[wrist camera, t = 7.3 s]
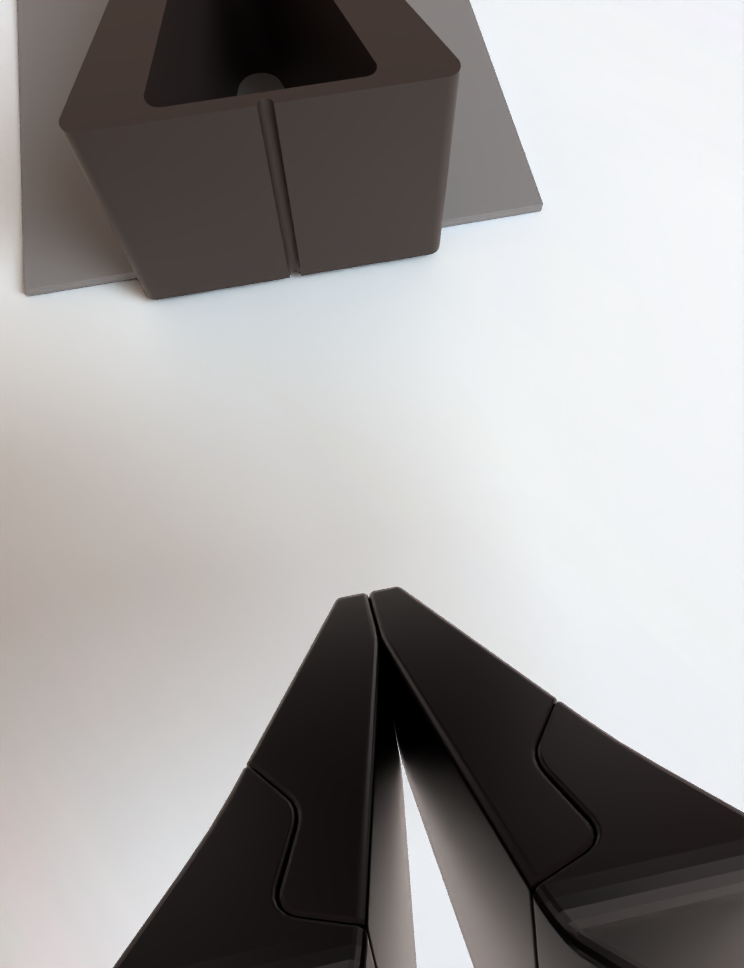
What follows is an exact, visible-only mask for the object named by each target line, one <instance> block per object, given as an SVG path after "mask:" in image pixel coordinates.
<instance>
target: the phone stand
mask: <svg viewBox="0 0 744 968" xmlns="http://www.w3.org/2000/svg"><path fill="white" fill-rule="evenodd" d="M460 69H461V63H460V61H459V59H458V58H457V57H456V56H455V55H454V54H453V53H452V51H451V50H450V49H449V48H448V47H447V46H446V45H445V44H444V43H443V41H442V40H441V39H440V38H439V37H438V36H437V35H436V34H435V33H434V31H433V30H432V29H431V28H430V27H429V26H428V25H427V24H426V23H425V21H424V20H423V19H422V18H421V17H420V16H419V15H418V14H417V13H416V11H415V10H414V9H413V8H412V7H411V6H410V5H409V4H408V3H407V1H406V0H109V2H108V4H107V6H106V9H105V11H104V13H103V16H102V18H101V21H100V23H99V25H98V28H97V30H96V32H95V35H94V37H93V40H92V42H91V44H90V47H89V49H88V52H87V54H86V56H85V59H84V61H83V63H82V66H81V68H80V71H79V73H78V75H77V78H76V80H75V82H74V85H73V87H72V90H71V92H70V94H69V97H68V99H67V101H66V104H65V106H64V109H63V111H62V113H61V116H60V118H59V126H60V128H61V130H62V132H63V134H64V136H65V138H66V140H67V142H68V144H69V146H70V147H71V149H72V151H73V153H74V155H75V157H76V159H77V161H78V163H79V165H80V167H81V169H82V171H83V173H84V175H85V177H86V179H87V181H88V183H89V185H90V186H91V188H92V190H93V192H94V194H95V196H96V198H97V200H98V202H99V204H100V206H101V208H102V210H103V212H104V214H105V216H106V218H107V220H108V222H109V224H110V226H111V227H112V229H113V231H114V233H115V235H116V237H117V239H118V241H119V243H120V245H121V247H122V249H123V251H124V253H125V255H126V257H127V259H128V261H129V263H130V265H131V267H132V268H133V270H134V272H135V274H136V276H137V278H138V280H139V282H140V284H141V286H142V288H143V290H144V292H145V294H146V295H147V296H148V297H149V298H151V299H163V298H169V297H175V296H181V295H187V294H193V293H199V292H205V291H211V290H217V289H223V288H229V287H235V286H241V285H247V284H253V283H259V282H265V281H272V280H278V279H284V278H289V276H290V274H291V273H292V272H294V271H298V272H300V273H301V275H308V274H314V273H320V272H326V271H332V270H338V269H344V268H350V267H356V266H362V265H368V264H374V263H380V262H386V261H392V260H398V259H404V258H410V257H416V256H422V255H428V254H433V253H435V252H436V251H437V250H438V248H439V244H440V236H441V227H442V219H443V211H444V202H445V194H446V186H447V177H448V169H449V161H450V152H451V144H452V135H453V127H454V119H455V110H456V102H457V94H458V85H459V77H460ZM255 73H268V74H272V75H274V76H276V77H277V78H278V79H279V80H280V81H281V83H282V85H283V86H284V88H285V89H280V90H273V91H267V92H260V93H253V94H246V95H240V96H237V94H238V89H239V85H240V83H241V82H242V81H243V80H244V79H245V78H246V77H248V76H249V75H252V74H255Z"/></svg>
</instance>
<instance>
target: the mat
mask: <svg viewBox="0 0 744 968" xmlns="http://www.w3.org/2000/svg"><path fill="white" fill-rule="evenodd" d="M406 1H407V3H408V4H409V5H410V6H411V7H412V8H413V9H414V10H415V11H416V13H417V14H418V15H419V16H420V17H421V18H422V19H423V20H424V21H425V23H426V24H427V25H428V26H429V27H430V28H431V29H432V30H433V31H434V33H435V34H436V35H437V36H438V37H439V38H440V39H441V40H442V41H443V43H444V44H445V45H446V46H447V47H448V48H449V49H450V50H451V51H452V53H453V54H454V55H455V56H456V57H457V58H458V59H459V61H460V63H461V69H460V77H459V85H458V94H457V102H456V110H455V119H454V127H453V135H452V144H451V152H450V161H449V169H448V177H447V186H446V194H445V202H444V211H443V219H442V227H447V226H453V225H459V224H465V223H471V222H477V221H483V220H489V219H495V218H501V217H507V216H513V215H519V214H525V213H531V212H537V211H541V209H542V206H543V203H542V200H541V197H540V194H539V192H538V189H537V186H536V183H535V180H534V178H533V175H532V172H531V169H530V167H529V164H528V161H527V158H526V156H525V153H524V150H523V147H522V145H521V142H520V139H519V136H518V134H517V131H516V128H515V125H514V123H513V120H512V117H511V114H510V111H509V109H508V106H507V103H506V100H505V98H504V95H503V92H502V89H501V87H500V84H499V81H498V78H497V76H496V73H495V70H494V67H493V65H492V62H491V59H490V56H489V53H488V51H487V48H486V45H485V42H484V40H483V37H482V34H481V31H480V29H479V26H478V23H477V20H476V18H475V15H474V12H473V9H472V7H471V4H470V1H469V0H406ZM108 2H109V0H17V8H18V52H19V97H20V141H21V186H22V230H23V274H24V291H25V292H26V294H27V295H28V296H33V295H39V294H45V293H51V292H57V291H63V290H69V289H75V288H81V287H87V286H93V285H99V284H105V283H111V282H117V281H123V280H129V279H135V278H137V276H136V274H135V272H134V270H133V268H132V267H131V265H130V263H129V261H128V259H127V257H126V255H125V253H124V251H123V249H122V247H121V245H120V243H119V241H118V239H117V237H116V235H115V233H114V231H113V229H112V227H111V226H110V224H109V222H108V220H107V218H106V216H105V214H104V212H103V210H102V208H101V206H100V204H99V202H98V200H97V198H96V196H95V194H94V192H93V190H92V188H91V186H90V185H89V183H88V181H87V179H86V177H85V175H84V173H83V171H82V169H81V167H80V165H79V163H78V161H77V159H76V157H75V155H74V153H73V151H72V149H71V147H70V146H69V144H68V142H67V140H66V138H65V136H64V134H63V132H62V130H61V128H60V126H59V118H60V116H61V113H62V111H63V109H64V106H65V104H66V101H67V99H68V97H69V94H70V92H71V90H72V87H73V85H74V82H75V80H76V78H77V75H78V73H79V71H80V68H81V66H82V63H83V61H84V59H85V56H86V54H87V52H88V49H89V47H90V44H91V42H92V40H93V37H94V35H95V32H96V30H97V28H98V25H99V23H100V21H101V18H102V16H103V13H104V11H105V9H106V6H107V4H108ZM280 89H285V88H284V86H283V85H282V83H281V81H280V80H279V79H278V78H277V77H276V76H274V75H272V74H268V73H255V74H252V75H249V76H248V77H246V78H245V79H244V80H243V81H242V82H241V83H240V85H239V89H238V94H237V96H240V95H246V94H253V93H260V92H267V91H273V90H280Z"/></svg>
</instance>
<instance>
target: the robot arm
mask: <svg viewBox="0 0 744 968" xmlns="http://www.w3.org/2000/svg"><path fill="white" fill-rule="evenodd" d="M396 738H397V739H396ZM397 742H398V745H397ZM398 747H399V750H398ZM399 751H400V755H401V759H402V762H403V766H404V769H405V772H406V775H407V778H408V781H409V784H410V787H411V790H412V792H413V795H414V798H415V801H416V804H417V807H418V809H419V812H420V815H421V818H422V821H423V824H424V827H425V829H426V832H427V835H428V838H429V841H430V844H431V846H432V849H433V852H434V855H435V858H436V861H437V864H438V866H439V869H440V872H441V875H442V878H443V881H444V883H445V886H446V889H447V892H448V895H449V898H450V901H451V903H452V906H453V909H454V912H455V915H456V918H457V920H458V923H459V926H460V929H461V932H462V935H463V938H464V940H465V943H466V946H467V949H468V952H469V955H470V957H471V960H472V963H473V966H474V968H744V812H742V811H740V810H738V809H736V808H735V807H733V806H731V805H729V804H728V803H726V802H724V801H722V800H720V799H719V798H717V797H715V796H713V795H711V794H710V793H708V792H706V791H704V790H703V789H701V788H699V787H697V786H695V785H694V784H692V783H690V782H688V781H687V780H685V779H683V778H681V777H679V776H678V775H676V774H674V773H672V772H670V771H669V770H667V769H665V768H663V767H662V766H660V765H658V764H657V763H655V762H653V761H652V760H650V759H648V758H646V757H645V756H643V755H641V754H640V753H638V752H636V751H635V750H633V749H631V748H630V747H628V746H626V745H625V744H623V743H621V742H619V741H618V740H616V739H615V738H613V737H612V736H610V735H609V734H607V733H606V732H604V731H603V730H601V729H600V728H598V727H597V726H595V725H594V724H592V723H591V722H589V721H588V720H586V719H585V718H583V717H582V716H581V715H579V714H578V713H576V712H575V711H574V710H572V709H571V708H569V707H568V706H567V705H565V704H564V703H562V702H557V699H556V698H555V697H553V696H552V695H551V694H549V693H548V692H546V691H545V690H544V689H542V688H541V687H539V686H538V685H537V684H535V683H534V682H532V681H531V680H530V679H528V678H527V677H525V676H524V675H523V674H521V673H520V672H518V671H517V670H516V669H514V668H513V667H511V666H510V665H509V664H507V663H506V662H504V661H503V660H502V659H500V658H499V657H497V656H496V655H495V654H493V653H492V652H490V651H489V650H487V649H486V648H485V647H483V646H482V645H480V644H479V643H478V642H476V641H475V640H473V639H472V638H471V637H469V636H468V635H466V634H465V633H464V632H462V631H461V630H459V629H458V628H457V627H455V626H454V625H452V624H451V623H450V622H448V621H447V620H445V619H444V618H443V617H441V616H440V615H438V614H437V613H436V612H434V611H433V610H431V609H430V608H429V607H427V606H426V605H424V604H423V603H422V602H420V601H419V600H417V599H416V598H415V597H413V596H412V595H410V594H409V593H408V592H406V591H405V590H403V589H402V588H400V587H392V588H387V589H382V590H377V591H373V592H371V593H370V595H369V597H368V596H367V594H364V593H362V594H356V595H351V596H346V597H341V598H338V599H337V600H336V601H335V603H334V605H333V607H332V609H331V611H330V612H329V614H328V616H327V618H326V620H325V622H324V623H323V625H322V627H321V629H320V631H319V633H318V634H317V636H316V638H315V640H314V642H313V644H312V645H311V647H310V649H309V651H308V653H307V655H306V656H305V658H304V660H303V662H302V664H301V666H300V667H299V669H298V671H297V673H296V675H295V677H294V678H293V680H292V682H291V684H290V686H289V688H288V689H287V691H286V693H285V695H284V697H283V699H282V700H281V702H280V704H279V706H278V708H277V710H276V711H275V713H274V715H273V717H272V719H271V721H270V722H269V724H268V726H267V728H266V730H265V732H264V733H263V735H262V737H261V739H260V741H259V743H258V744H257V746H256V748H255V750H254V752H253V754H252V755H251V757H250V759H249V761H248V763H247V767H246V768H244V769H243V771H242V773H241V775H240V777H239V779H238V781H237V782H236V784H235V786H234V788H233V790H232V792H231V793H230V795H229V797H228V798H227V800H226V802H225V803H224V805H223V807H222V809H221V810H220V812H219V814H218V815H217V817H216V819H215V820H214V822H213V824H212V826H211V827H210V829H209V830H208V832H207V833H206V835H205V836H204V838H203V839H202V841H201V842H200V844H199V845H198V847H197V848H196V850H195V851H194V853H193V854H192V856H191V857H190V859H189V860H188V862H187V863H186V865H185V866H184V868H183V869H182V871H181V872H180V874H179V875H178V876H177V878H176V879H175V881H174V882H173V884H172V885H171V886H170V888H169V889H168V891H167V892H166V893H165V895H164V896H163V898H162V899H161V900H160V902H159V903H158V905H157V906H156V908H155V909H154V910H153V912H152V913H151V915H150V916H149V917H148V919H147V920H146V922H145V923H144V924H143V926H142V927H141V929H140V930H139V932H138V933H137V934H136V936H135V937H134V939H133V940H132V941H131V943H130V944H129V946H128V947H127V948H126V950H125V951H124V953H123V954H122V955H121V957H120V958H119V960H118V961H117V963H116V964H115V965H114V967H113V968H417V967H416V954H415V940H414V927H413V914H412V901H411V888H410V874H409V861H408V848H407V835H406V822H405V808H404V795H403V782H402V772H401V763H400V756H399Z"/></svg>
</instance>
